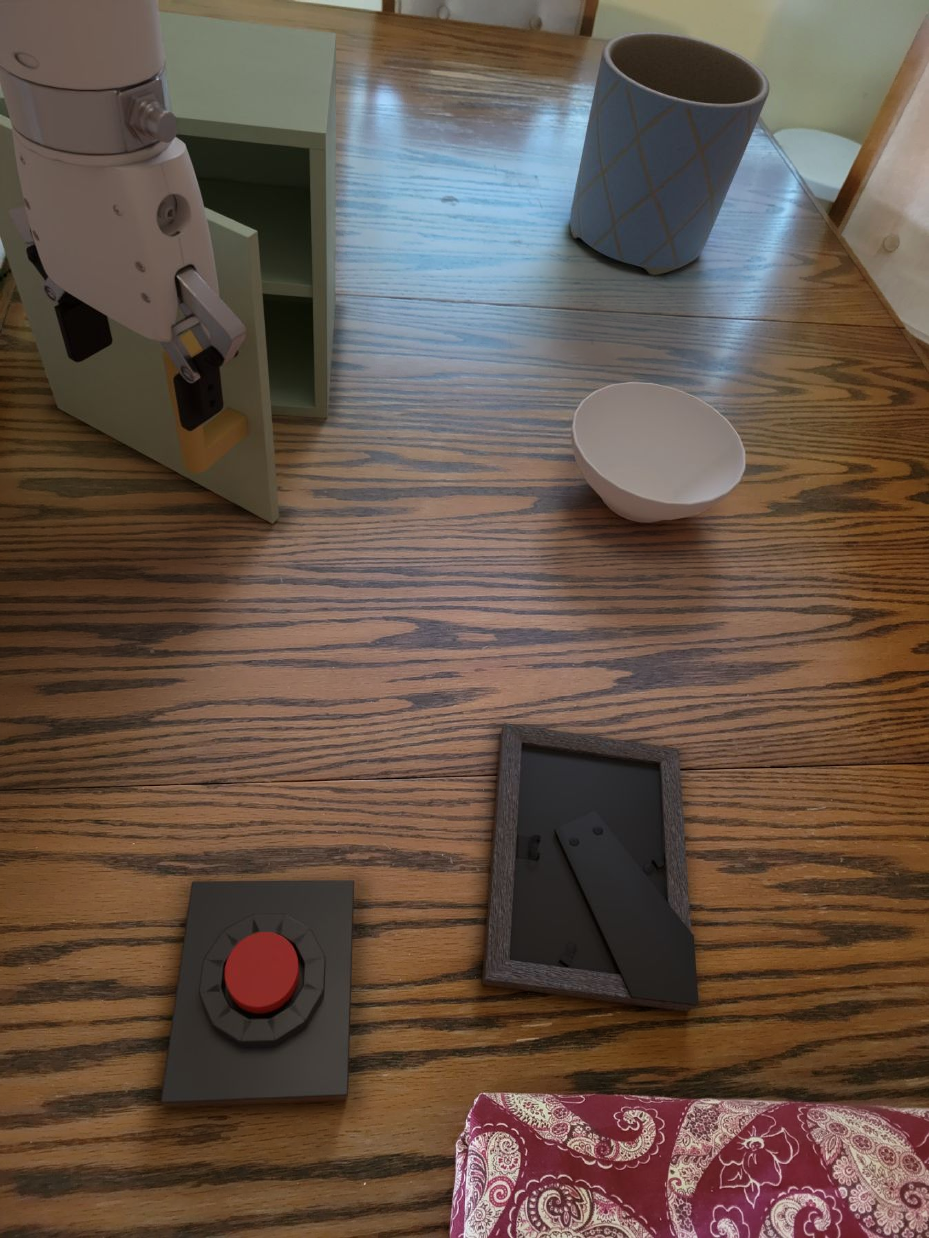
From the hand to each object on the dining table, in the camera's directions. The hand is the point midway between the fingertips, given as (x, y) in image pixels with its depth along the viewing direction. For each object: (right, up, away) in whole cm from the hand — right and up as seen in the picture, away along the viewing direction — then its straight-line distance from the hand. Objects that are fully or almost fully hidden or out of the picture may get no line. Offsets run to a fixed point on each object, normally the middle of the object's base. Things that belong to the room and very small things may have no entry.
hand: (146, 384), depth 54 cm
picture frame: (+29, -32, +4) cm, 44 cm away
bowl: (+37, -3, +26) cm, 46 cm away
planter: (+43, +35, +55) cm, 78 cm away
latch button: (+9, -36, -6) cm, 37 cm away
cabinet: (-5, +12, +31) cm, 33 cm away
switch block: (+9, -38, -3) cm, 39 cm away
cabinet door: (-8, -3, +19) cm, 21 cm away
